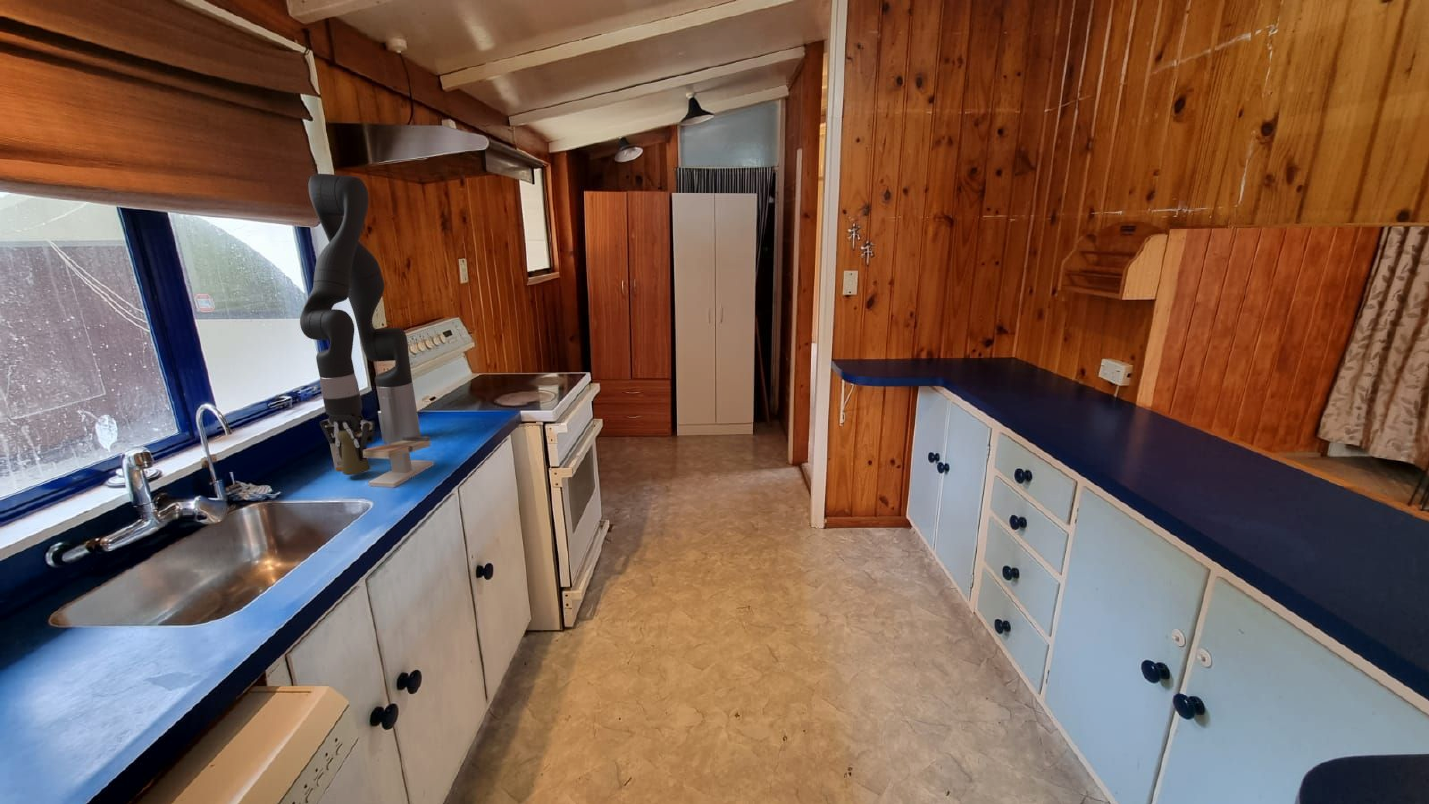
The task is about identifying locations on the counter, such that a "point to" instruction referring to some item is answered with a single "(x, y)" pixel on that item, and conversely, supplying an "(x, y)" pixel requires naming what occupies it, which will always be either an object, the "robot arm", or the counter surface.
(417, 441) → the seesaw
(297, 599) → the counter surface
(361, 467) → the cork
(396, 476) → the seesaw stand
